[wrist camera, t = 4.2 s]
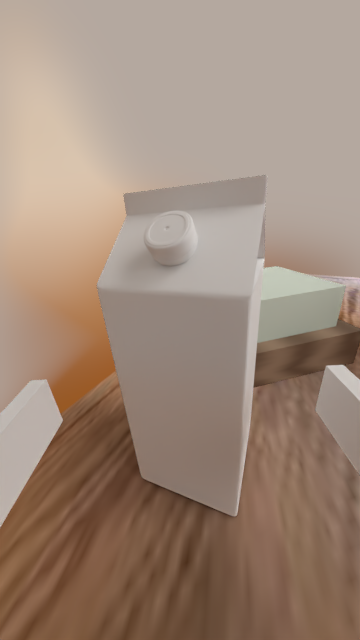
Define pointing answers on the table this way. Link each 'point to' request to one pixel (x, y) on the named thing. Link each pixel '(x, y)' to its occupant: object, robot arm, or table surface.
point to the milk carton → (188, 331)
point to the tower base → (305, 353)
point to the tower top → (296, 303)
